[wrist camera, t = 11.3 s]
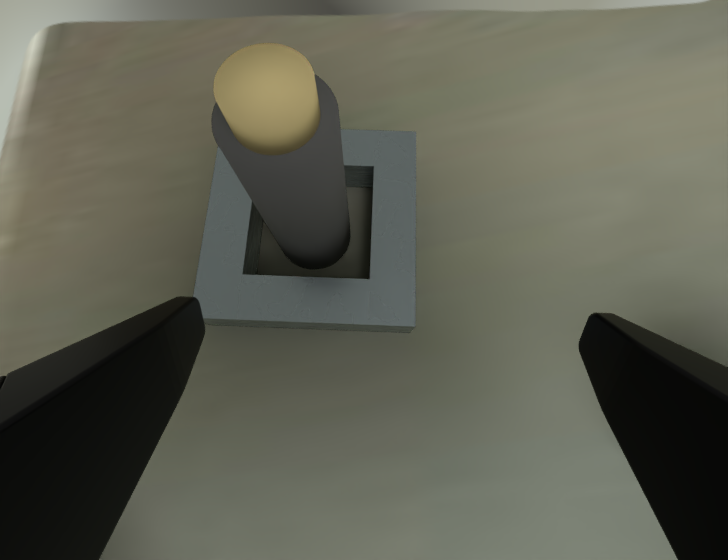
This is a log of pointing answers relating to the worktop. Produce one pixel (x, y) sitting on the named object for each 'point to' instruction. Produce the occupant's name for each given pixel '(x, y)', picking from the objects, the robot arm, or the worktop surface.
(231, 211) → the housing
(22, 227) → the worktop surface
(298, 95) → the plug
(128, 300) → the worktop surface
